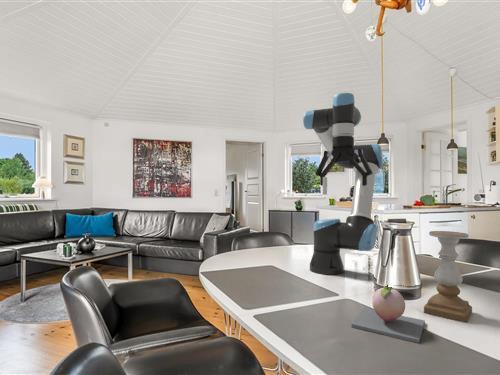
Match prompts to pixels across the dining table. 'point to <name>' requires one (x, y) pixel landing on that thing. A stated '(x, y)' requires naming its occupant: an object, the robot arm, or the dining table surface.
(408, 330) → the mat
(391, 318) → the decorative fruit
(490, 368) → the dining table surface
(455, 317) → the candle holder
